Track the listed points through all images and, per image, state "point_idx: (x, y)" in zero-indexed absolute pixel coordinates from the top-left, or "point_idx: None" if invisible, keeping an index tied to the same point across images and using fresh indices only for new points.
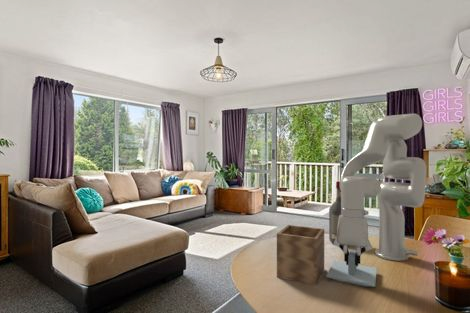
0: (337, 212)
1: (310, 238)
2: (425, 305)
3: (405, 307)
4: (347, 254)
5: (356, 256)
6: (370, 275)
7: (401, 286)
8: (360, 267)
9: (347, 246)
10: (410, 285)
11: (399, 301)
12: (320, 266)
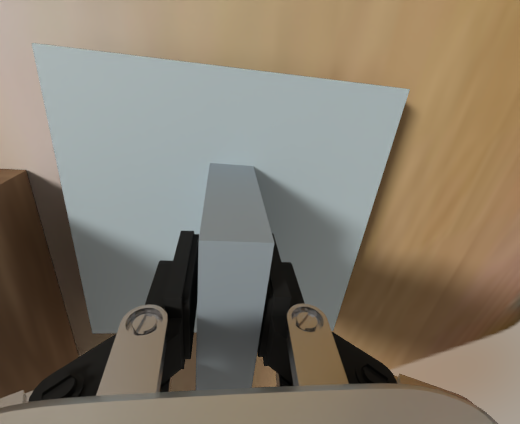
0: None
1: None
2: (466, 332)
3: (395, 364)
4: (182, 366)
5: (265, 356)
6: (331, 246)
7: (458, 223)
8: (283, 134)
9: (157, 379)
10: (510, 195)
11: (391, 341)
12: (18, 339)
